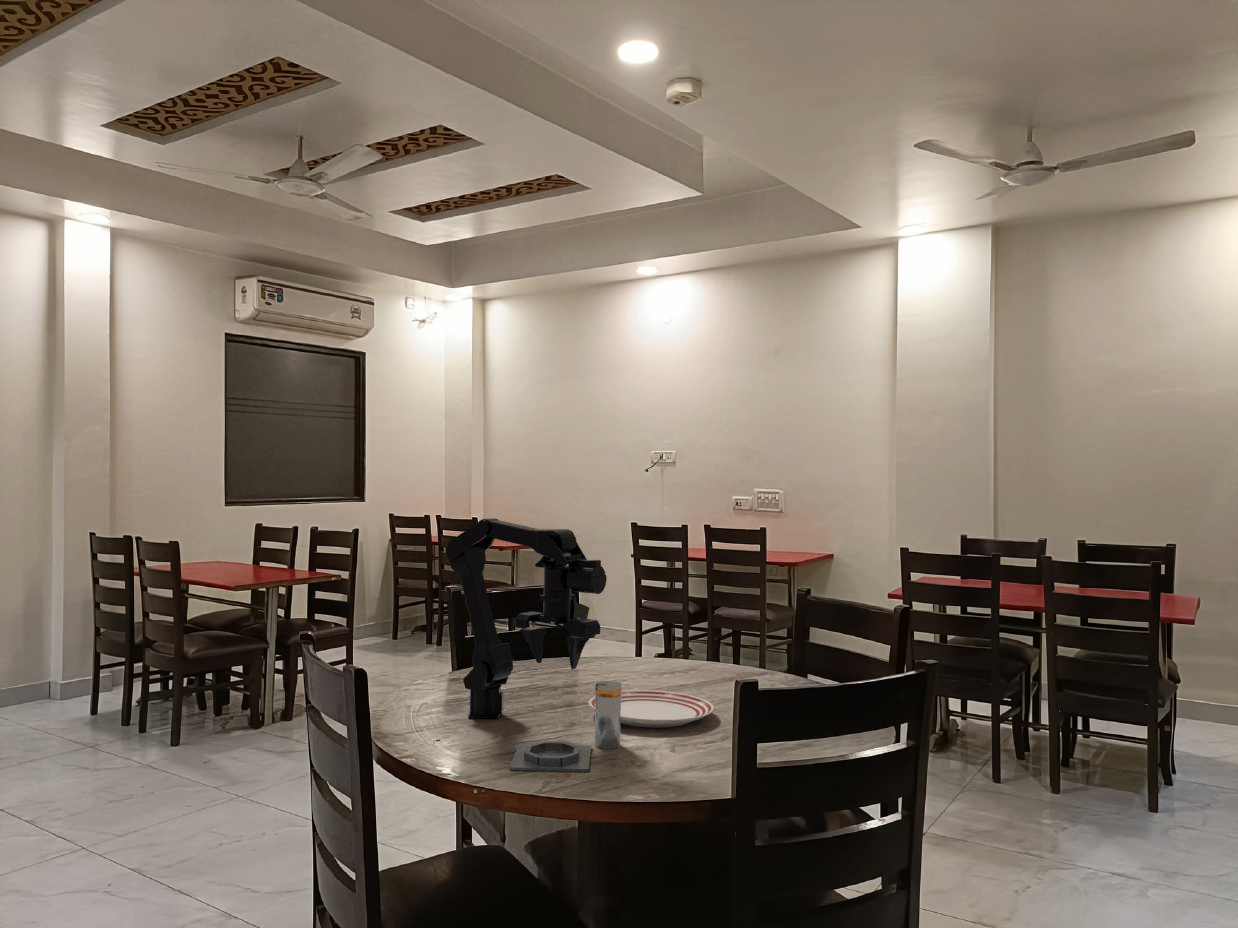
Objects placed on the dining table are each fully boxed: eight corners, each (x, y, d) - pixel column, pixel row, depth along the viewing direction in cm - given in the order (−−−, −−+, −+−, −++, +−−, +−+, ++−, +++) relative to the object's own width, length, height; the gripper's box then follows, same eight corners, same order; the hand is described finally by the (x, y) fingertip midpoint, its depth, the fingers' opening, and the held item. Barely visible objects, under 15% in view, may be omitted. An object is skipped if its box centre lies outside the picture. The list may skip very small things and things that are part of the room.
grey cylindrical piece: (593, 748, 173) (594, 686, 174) (594, 740, 179) (595, 680, 179) (620, 749, 173) (621, 686, 173) (620, 741, 179) (621, 680, 179)
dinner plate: (640, 695, 217) (640, 681, 217) (737, 716, 200) (738, 701, 200) (562, 717, 196) (562, 702, 196) (663, 743, 179) (664, 726, 179)
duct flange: (509, 770, 160) (509, 760, 160) (518, 746, 174) (519, 737, 174) (588, 771, 160) (588, 762, 160) (591, 747, 174) (591, 739, 174)
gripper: (616, 590, 188) (615, 665, 188) (548, 582, 199) (547, 653, 199) (583, 595, 179) (582, 674, 179) (513, 587, 190) (512, 661, 190)
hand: (556, 665), depth 187 cm, fingers open, 9 cm apart
